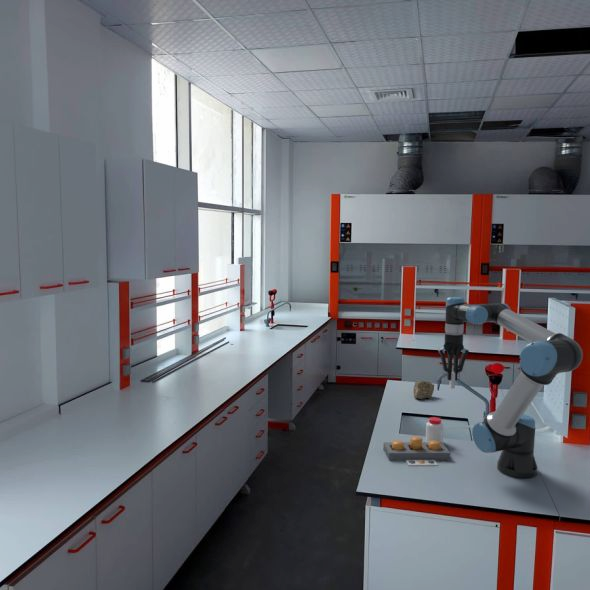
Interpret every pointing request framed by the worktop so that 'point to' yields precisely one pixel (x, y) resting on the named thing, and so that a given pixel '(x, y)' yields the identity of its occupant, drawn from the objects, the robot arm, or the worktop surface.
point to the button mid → (416, 443)
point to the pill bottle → (434, 430)
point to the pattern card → (421, 463)
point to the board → (416, 452)
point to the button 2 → (434, 445)
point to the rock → (423, 389)
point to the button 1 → (397, 445)
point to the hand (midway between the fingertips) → (451, 387)
